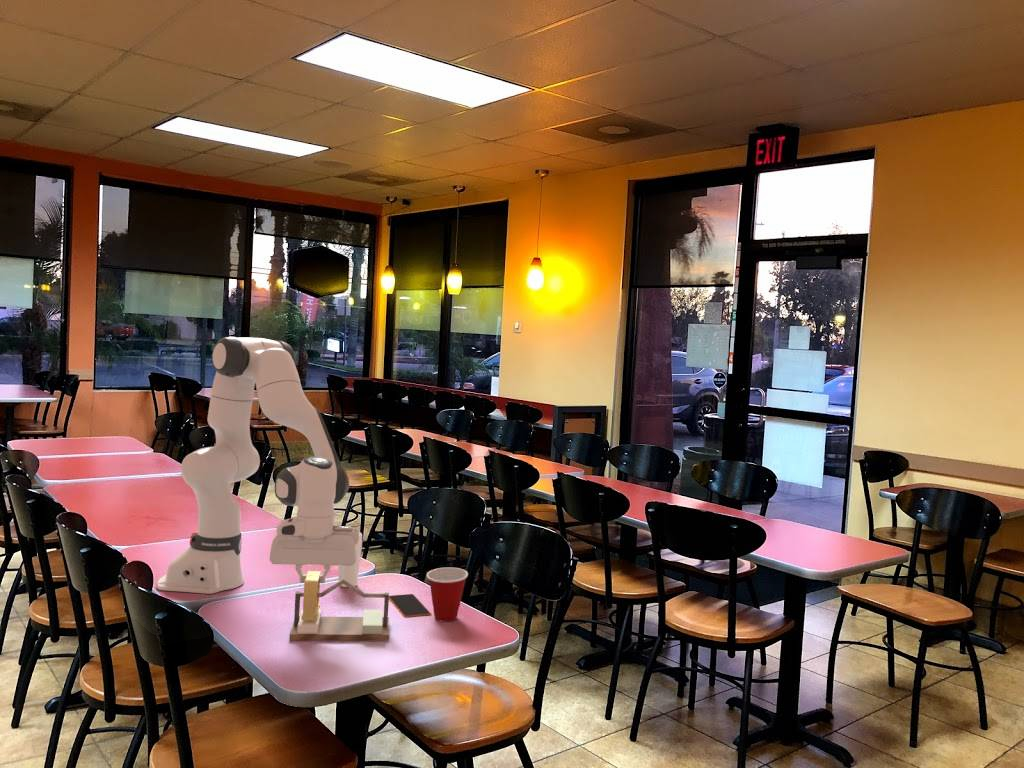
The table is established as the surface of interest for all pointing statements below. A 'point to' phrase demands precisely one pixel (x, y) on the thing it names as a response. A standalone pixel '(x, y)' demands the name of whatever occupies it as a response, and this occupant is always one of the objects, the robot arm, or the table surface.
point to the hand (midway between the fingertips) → (312, 582)
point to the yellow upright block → (311, 596)
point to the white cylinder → (351, 571)
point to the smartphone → (409, 605)
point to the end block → (372, 622)
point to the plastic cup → (446, 591)
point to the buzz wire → (341, 621)
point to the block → (309, 625)
